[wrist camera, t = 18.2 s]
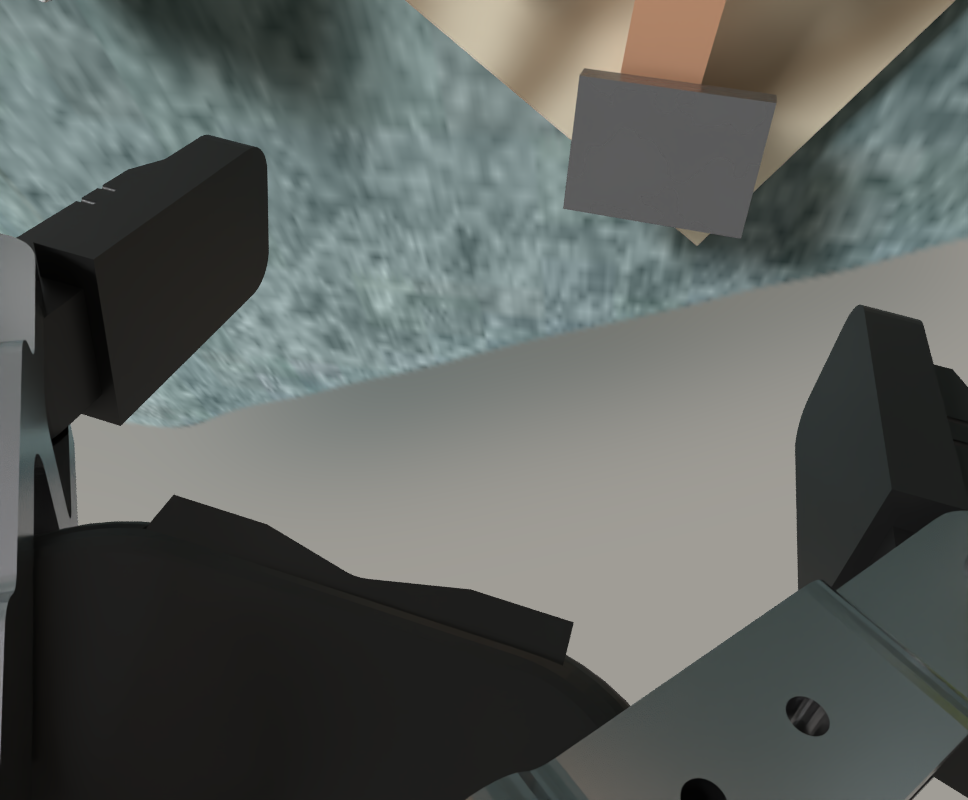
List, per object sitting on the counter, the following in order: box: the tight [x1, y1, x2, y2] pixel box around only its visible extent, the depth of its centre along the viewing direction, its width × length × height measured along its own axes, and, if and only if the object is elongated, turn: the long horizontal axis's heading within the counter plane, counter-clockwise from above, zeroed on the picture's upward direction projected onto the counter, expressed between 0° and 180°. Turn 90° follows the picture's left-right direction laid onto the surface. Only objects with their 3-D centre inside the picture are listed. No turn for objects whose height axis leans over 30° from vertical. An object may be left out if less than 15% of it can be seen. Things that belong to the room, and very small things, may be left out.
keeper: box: [563, 68, 777, 239], centre depth 34 cm, size 5×7×5 cm
